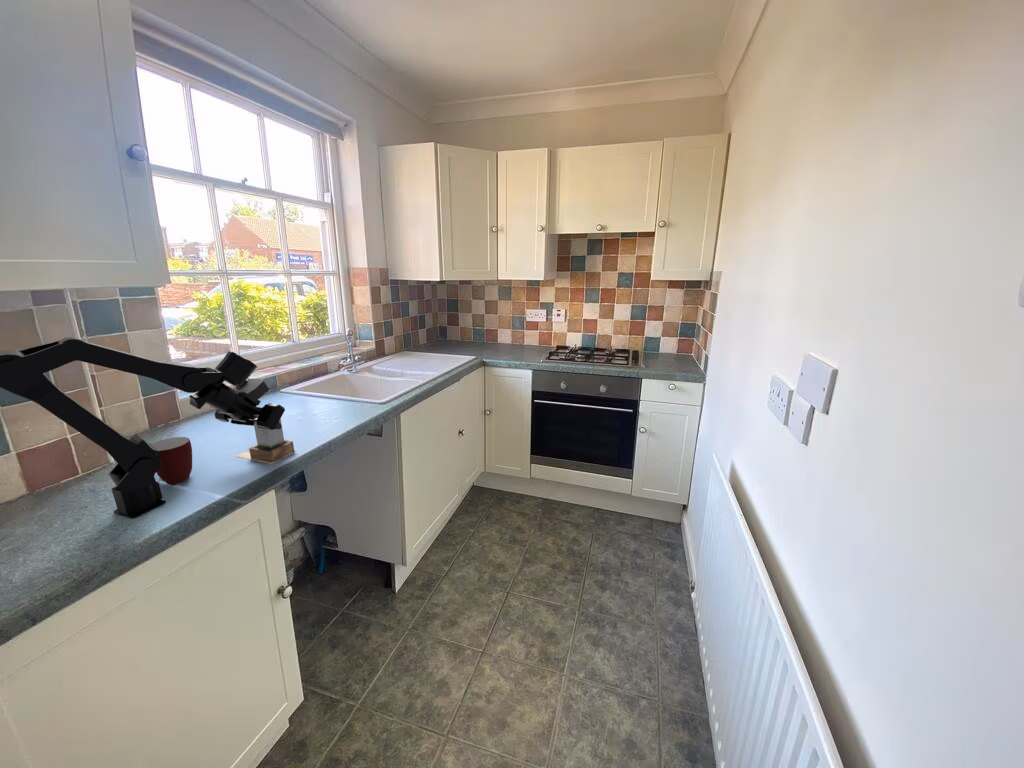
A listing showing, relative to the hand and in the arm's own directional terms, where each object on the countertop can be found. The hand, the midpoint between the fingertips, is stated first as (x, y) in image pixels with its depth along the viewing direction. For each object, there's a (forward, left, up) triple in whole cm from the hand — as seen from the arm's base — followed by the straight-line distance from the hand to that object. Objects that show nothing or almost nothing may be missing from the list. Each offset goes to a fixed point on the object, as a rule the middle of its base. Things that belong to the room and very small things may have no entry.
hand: (272, 426), depth 112 cm
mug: (-19, +12, -9) cm, 24 cm away
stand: (-1, +2, -8) cm, 9 cm away
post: (-1, 0, -8) cm, 8 cm away
